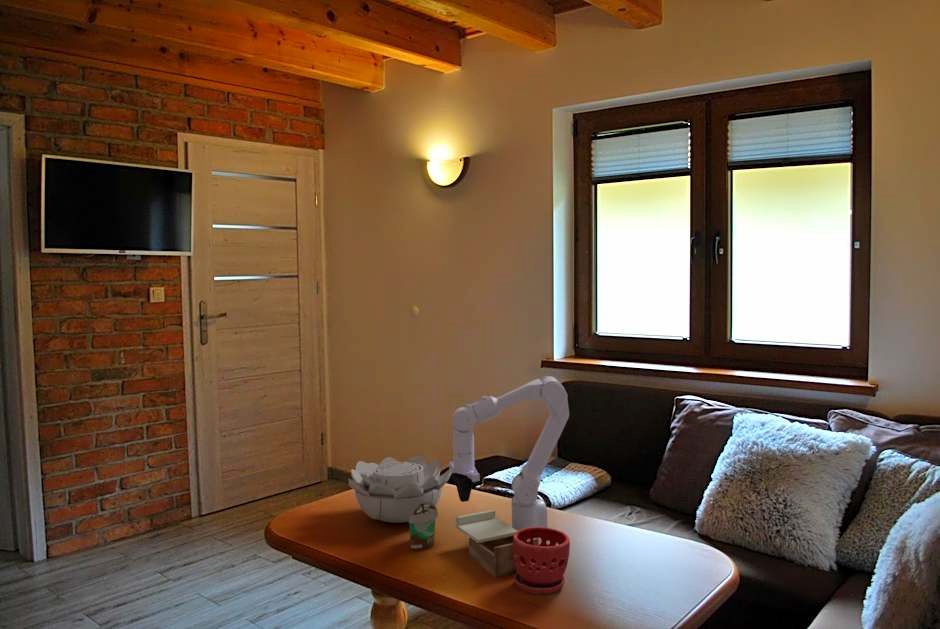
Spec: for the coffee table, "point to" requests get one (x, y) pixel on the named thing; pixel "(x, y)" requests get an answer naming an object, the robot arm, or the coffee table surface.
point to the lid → (483, 526)
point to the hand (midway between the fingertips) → (464, 500)
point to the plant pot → (540, 559)
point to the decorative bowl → (396, 487)
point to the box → (495, 555)
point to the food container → (423, 526)
